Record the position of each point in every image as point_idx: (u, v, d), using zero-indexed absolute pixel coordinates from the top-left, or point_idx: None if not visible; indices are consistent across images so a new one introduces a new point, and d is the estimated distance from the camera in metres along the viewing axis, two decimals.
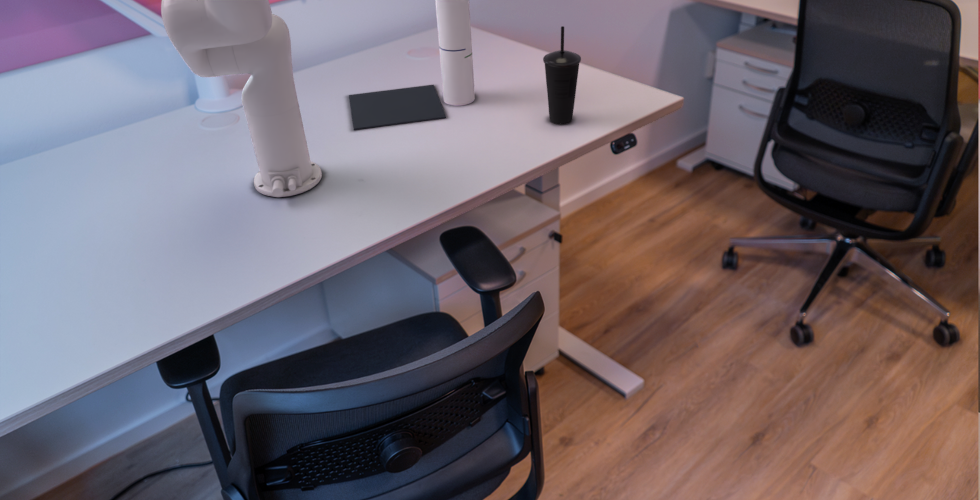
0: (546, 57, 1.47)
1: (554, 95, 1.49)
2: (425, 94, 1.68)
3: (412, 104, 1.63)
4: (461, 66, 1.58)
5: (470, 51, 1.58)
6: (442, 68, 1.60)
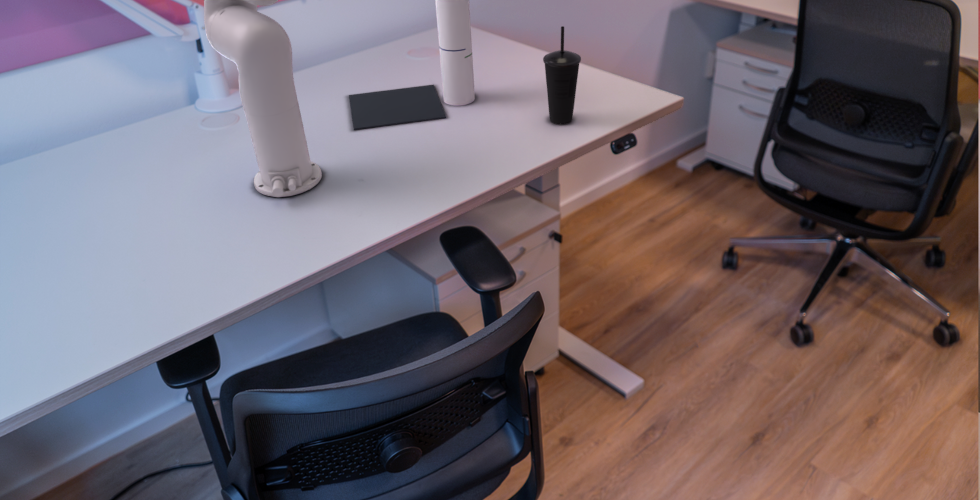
0: (546, 57, 1.47)
1: (554, 95, 1.49)
2: (425, 94, 1.68)
3: (412, 104, 1.63)
4: (461, 66, 1.58)
5: (470, 51, 1.58)
6: (442, 68, 1.60)
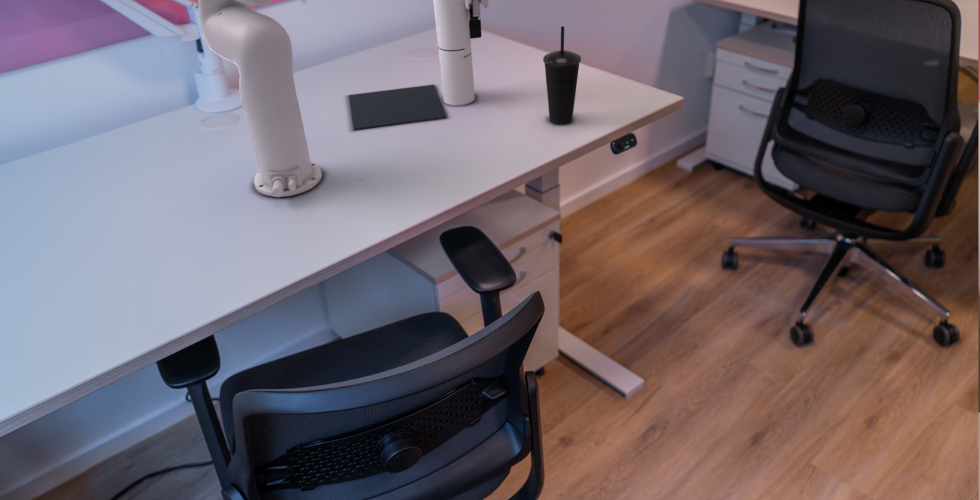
0: (546, 57, 1.47)
1: (554, 95, 1.49)
2: (425, 94, 1.68)
3: (412, 104, 1.63)
4: (460, 65, 1.58)
5: (469, 51, 1.58)
6: (441, 68, 1.60)
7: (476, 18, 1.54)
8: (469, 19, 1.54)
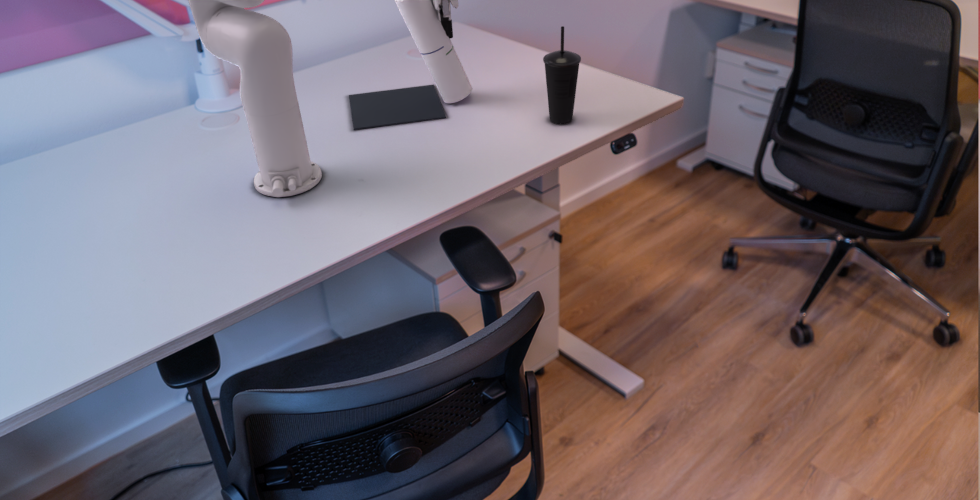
0: (546, 57, 1.47)
1: (554, 95, 1.49)
2: (425, 94, 1.68)
3: (412, 104, 1.63)
4: (445, 63, 1.57)
5: (450, 46, 1.57)
6: (430, 71, 1.60)
7: (447, 19, 1.53)
8: (440, 20, 1.53)
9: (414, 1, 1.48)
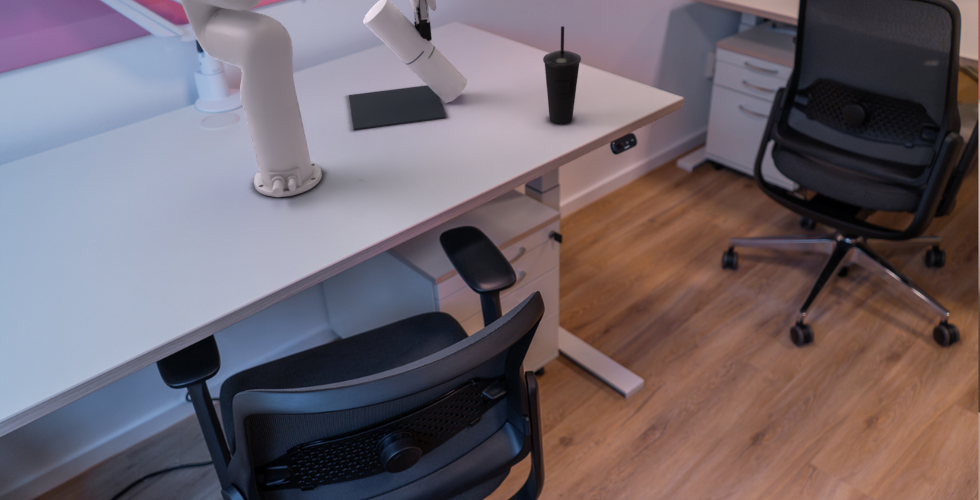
0: (546, 57, 1.47)
1: (554, 95, 1.49)
2: (425, 94, 1.68)
3: (412, 104, 1.63)
4: (431, 66, 1.57)
5: (430, 48, 1.56)
6: (420, 78, 1.60)
7: (425, 21, 1.52)
8: (418, 22, 1.52)
9: (380, 18, 1.49)
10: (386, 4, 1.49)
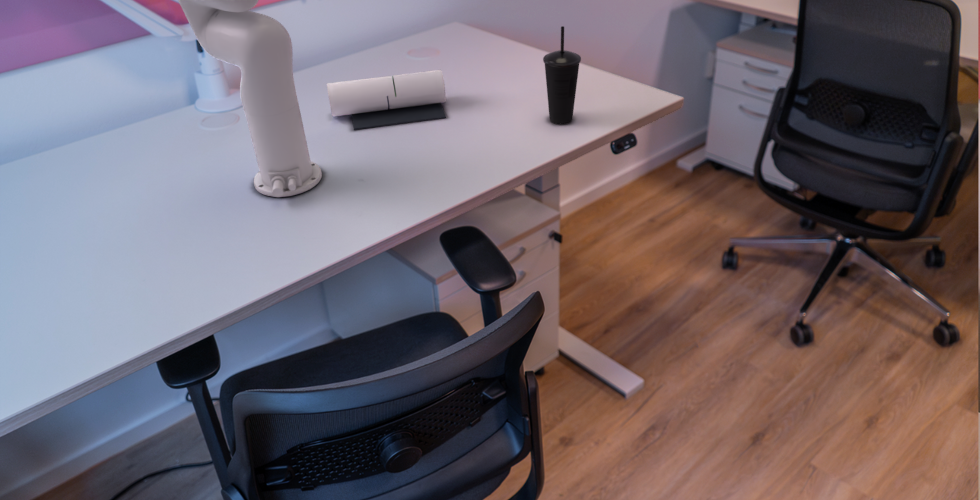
0: (546, 57, 1.47)
1: (554, 95, 1.49)
2: None
3: None
4: (404, 99, 1.58)
5: (391, 87, 1.57)
6: None
7: None
8: None
9: (335, 109, 1.56)
10: (329, 95, 1.55)
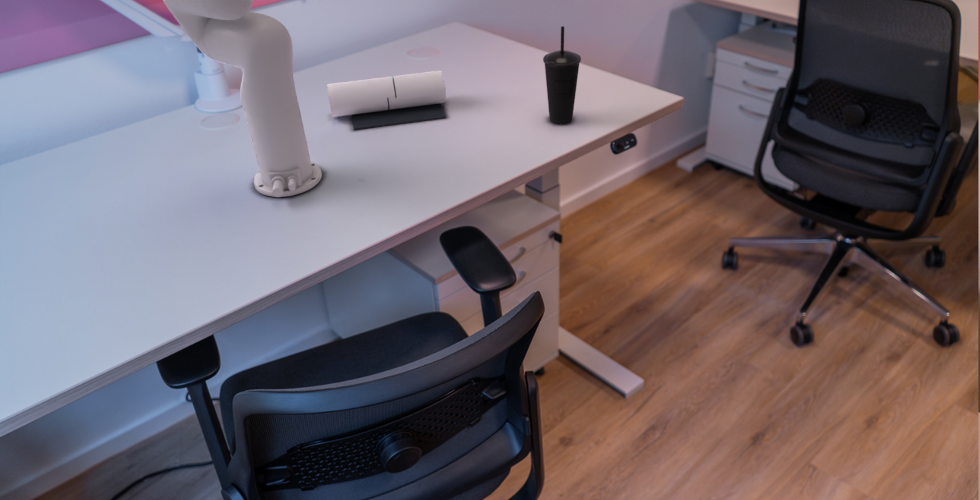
0: (546, 57, 1.47)
1: (554, 95, 1.49)
2: None
3: None
4: (404, 100, 1.58)
5: (391, 89, 1.57)
6: None
7: None
8: None
9: (336, 110, 1.56)
10: (329, 97, 1.55)
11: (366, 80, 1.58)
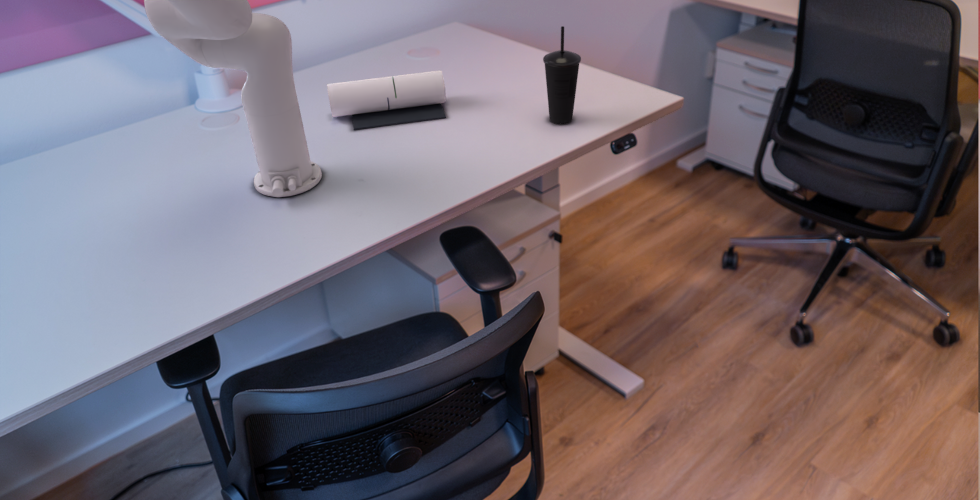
0: (546, 57, 1.47)
1: (554, 95, 1.49)
2: None
3: None
4: (404, 100, 1.58)
5: (391, 89, 1.57)
6: None
7: None
8: None
9: (336, 110, 1.56)
10: (329, 97, 1.55)
11: (366, 80, 1.58)
